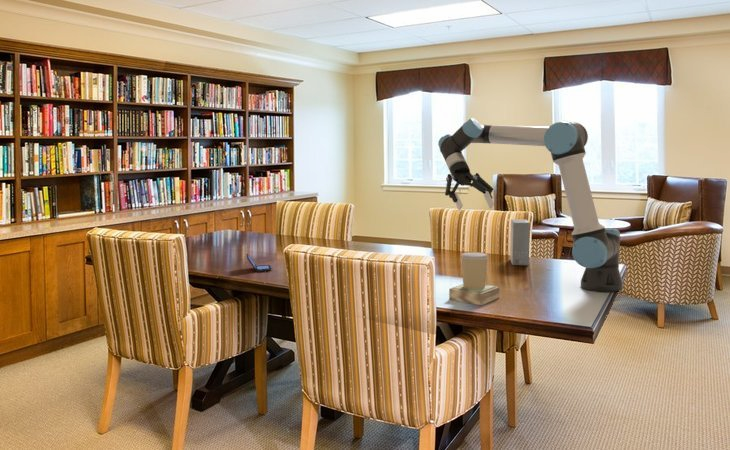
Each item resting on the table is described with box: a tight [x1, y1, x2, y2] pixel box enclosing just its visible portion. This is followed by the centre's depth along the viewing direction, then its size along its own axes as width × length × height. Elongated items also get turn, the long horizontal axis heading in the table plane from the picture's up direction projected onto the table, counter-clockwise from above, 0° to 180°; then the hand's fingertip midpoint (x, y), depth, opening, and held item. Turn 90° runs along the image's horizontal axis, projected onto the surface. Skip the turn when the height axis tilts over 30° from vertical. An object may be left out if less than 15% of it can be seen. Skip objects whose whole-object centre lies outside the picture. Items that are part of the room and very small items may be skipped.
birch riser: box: [448, 283, 500, 306], centre depth 215 cm, size 13×13×4 cm
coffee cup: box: [460, 251, 488, 289], centre depth 214 cm, size 9×9×12 cm
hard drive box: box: [509, 218, 531, 266], centre depth 279 cm, size 16×8×20 cm, turn 170°
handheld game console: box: [246, 253, 272, 273], centre depth 273 cm, size 12×11×7 cm
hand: (476, 207), depth 227 cm, fingers open, 13 cm apart
